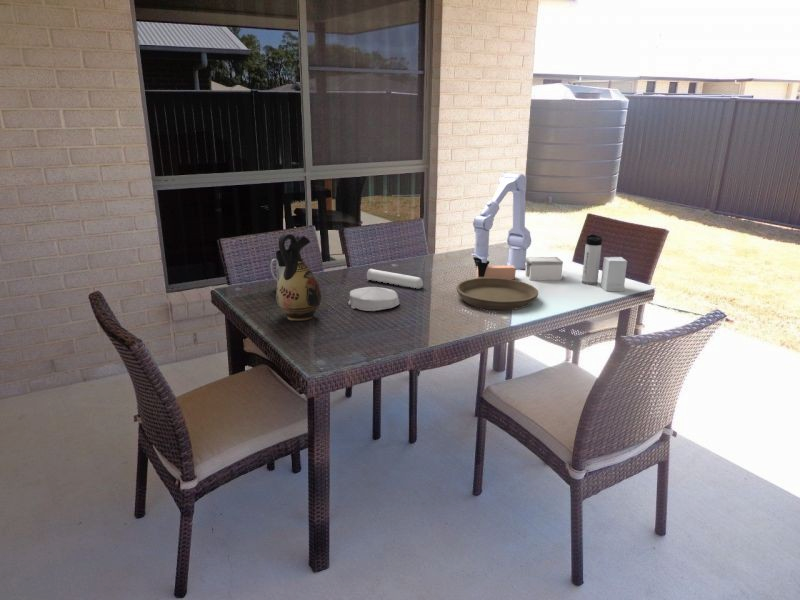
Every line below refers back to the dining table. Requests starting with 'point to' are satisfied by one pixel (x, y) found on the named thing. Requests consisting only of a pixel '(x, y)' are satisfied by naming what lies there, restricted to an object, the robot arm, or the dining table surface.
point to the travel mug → (592, 259)
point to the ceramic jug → (297, 282)
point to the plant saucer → (497, 293)
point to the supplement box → (613, 273)
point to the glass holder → (279, 265)
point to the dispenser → (543, 268)
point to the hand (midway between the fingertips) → (480, 275)
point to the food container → (373, 298)
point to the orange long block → (498, 272)
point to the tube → (394, 278)
